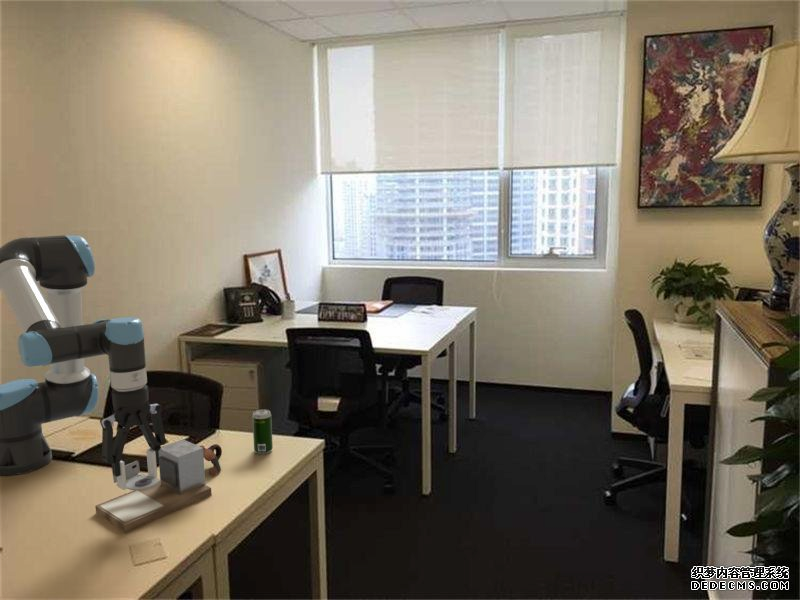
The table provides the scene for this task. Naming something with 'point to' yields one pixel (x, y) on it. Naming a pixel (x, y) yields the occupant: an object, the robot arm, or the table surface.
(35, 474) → the table surface
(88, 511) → the table surface
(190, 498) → the brown wooden flat board
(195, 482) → the grey box
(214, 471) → the pottery mug
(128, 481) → the bracket
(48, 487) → the table surface
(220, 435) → the table surface
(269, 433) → the beer can
